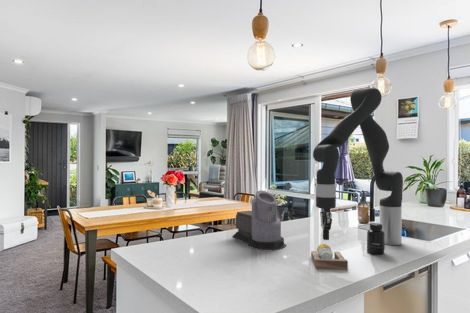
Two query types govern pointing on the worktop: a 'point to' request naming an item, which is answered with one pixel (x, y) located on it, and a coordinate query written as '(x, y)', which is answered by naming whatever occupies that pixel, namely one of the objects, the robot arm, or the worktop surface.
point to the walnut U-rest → (329, 261)
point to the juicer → (260, 224)
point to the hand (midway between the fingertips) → (325, 239)
